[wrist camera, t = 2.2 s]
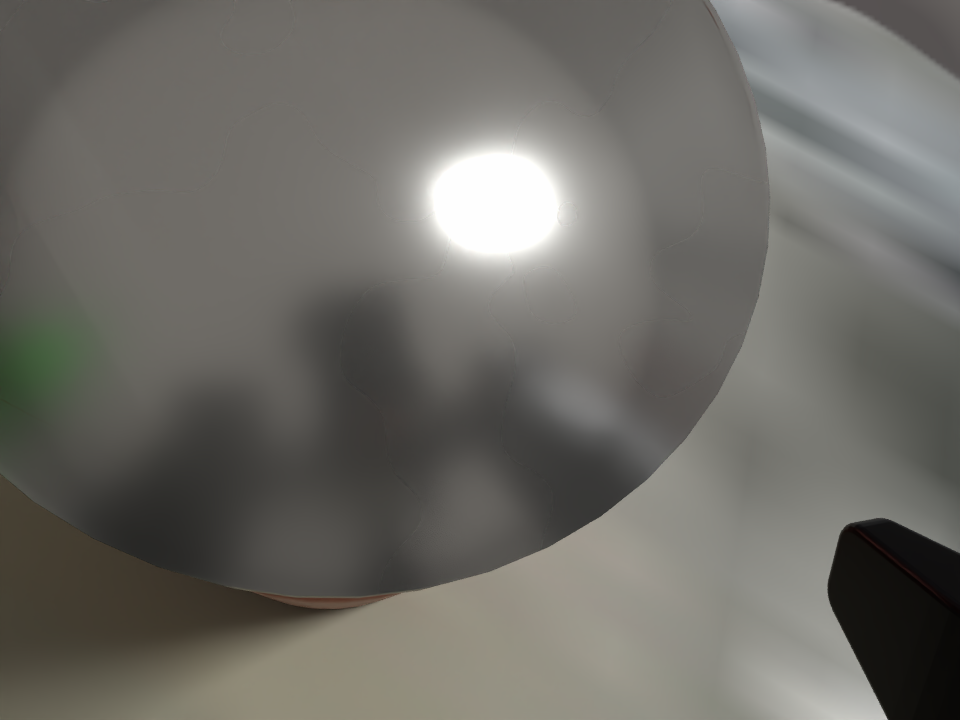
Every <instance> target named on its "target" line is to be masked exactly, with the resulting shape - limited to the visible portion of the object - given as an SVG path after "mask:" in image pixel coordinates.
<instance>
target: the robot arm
mask: <svg viewBox="0 0 960 720" xmlns="http://www.w3.org/2000/svg"><path fill="white" fill-rule="evenodd" d="M828 597H829V601H830V605H831V607H832V610H833V612H834V614H835V616H836V618H837V620H838V622H839V624H840V626H841V628H842V630H843V632H844V634H845V636H846V638H847V640H848V642H849V643H850V645H851V647H852V649H853V651H854V653H855V655H856V657H857V659H858V661H859V663H860V665H861V667H862V669H863V671H864V673H865V675H866V677H867V679H868V681H869V683H870V685H871V687H872V689H873V691H874V693H875V695H876V697H877V699H878V701H879V703H880V705H881V707H882V709H883V711H884V713H885V715H886V717H887V719H888V720H960V553H958V552H956V551H954V550H952V549H950V548H947V547H945V546H943V545H941V544H939V543H937V542H935V541H933V540H931V539H929V538H927V537H925V536H923V535H921V534H919V533H916V532H914V531H912V530H910V529H908V528H906V527H904V526H902V525H900V524H898V523H896V522H894V521H891V520H889V519H885V518H876V519H871V520H865V521H860V522H855V523H850V524H848V525H846V526H845V527H844V529H843V530H842V531H841V533H840V536H839V539H838V543H837V547H836V551H835V555H834V559H833V563H832V567H831V571H830V575H829V579H828Z"/></svg>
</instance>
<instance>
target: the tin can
mask: <svg viewBox="0 0 960 720" xmlns="http://www.w3.org/2000/svg"><path fill="white" fill-rule="evenodd" d="M769 211H770V190H769V179H768V168H767V157H766V147H765V143H764V138H763V134H762V129H761V125H760V121H759V116H758V112H757V107H756V103H755V99H754V96H753V94H752V91H751V88H750V85H749V83H748V80H747V77H746V74H745V72H744V69H743V66H742V63H741V61H740V58H739V55H738V53H737V51H736V49H735V47H734V45H733V43H732V41H731V39H730V37H729V35H728V33H727V31H726V29H725V27H724V25H723V23H722V21H721V19H720V17H719V16H718V14H717V12H716V10H715V8H714V7H713V5H712V4H711V2H710V1H709V0H0V474H1V475H3V476H4V477H5V478H6V479H7V480H9V481H10V482H11V483H12V484H13V485H15V486H16V487H17V488H18V489H19V490H21V491H22V492H23V493H24V494H25V495H26V496H28V497H29V498H30V499H31V500H32V501H34V502H35V503H37V504H38V505H40V506H42V507H43V508H45V509H46V510H48V511H50V512H51V513H53V514H54V515H56V516H58V517H59V518H61V519H63V520H64V521H66V522H67V523H69V524H71V525H72V526H74V527H76V528H77V529H79V530H80V531H82V532H84V533H85V534H87V535H88V536H90V537H92V538H93V539H96V540H98V541H100V542H103V543H105V544H107V545H109V546H112V547H114V548H116V549H118V550H121V551H123V552H125V553H128V554H130V555H132V556H134V557H137V558H139V559H141V560H143V561H146V562H148V563H150V564H153V565H155V566H157V567H160V568H164V569H167V570H170V571H173V572H177V573H180V574H184V575H187V576H191V577H194V578H198V579H201V580H205V581H208V582H212V583H215V584H219V585H222V586H226V587H229V588H233V589H240V590H247V591H251V592H253V593H256V594H259V595H262V596H264V597H267V598H270V599H273V600H276V601H279V602H283V603H286V604H290V605H293V606H299V607H306V608H313V609H342V608H350V607H358V606H362V605H365V604H369V603H373V602H377V601H380V600H383V599H386V598H389V597H392V596H395V595H398V594H401V593H404V592H411V591H419V590H422V589H426V588H430V587H434V586H438V585H441V584H445V583H449V582H453V581H457V580H460V579H464V578H468V577H472V576H476V575H479V574H482V573H486V572H489V571H492V570H494V569H497V568H499V567H502V566H504V565H506V564H509V563H511V562H514V561H516V560H518V559H521V558H523V557H526V556H528V555H530V554H533V553H535V552H538V551H540V550H542V549H545V548H547V547H549V546H551V545H553V544H554V543H556V542H558V541H560V540H561V539H563V538H565V537H566V536H568V535H570V534H571V533H573V532H575V531H577V530H578V529H580V528H582V527H583V526H585V525H587V524H588V523H590V522H592V521H594V520H595V519H597V518H599V517H600V516H602V515H603V514H604V513H606V512H607V511H608V510H609V509H611V508H612V507H613V506H614V505H616V504H617V503H618V502H619V501H621V500H622V499H623V498H624V497H626V496H627V495H628V494H629V493H631V492H632V491H633V490H634V489H636V488H637V487H638V486H639V485H641V484H642V483H643V482H645V481H646V480H647V479H648V478H649V477H650V476H651V475H652V474H653V473H654V472H655V471H656V470H657V468H658V467H659V466H660V465H661V464H662V463H663V462H664V461H665V460H666V459H667V458H668V457H669V456H670V455H671V454H672V453H673V452H674V450H675V449H676V448H677V447H678V446H679V445H680V444H681V443H682V442H683V441H684V440H685V439H686V438H687V436H688V435H689V433H690V432H691V431H692V429H693V428H694V426H695V425H696V423H697V422H698V421H699V419H700V418H701V416H702V415H703V414H704V412H705V411H706V409H707V408H708V406H709V405H710V404H711V402H712V401H713V399H714V398H715V397H716V395H717V394H718V392H719V390H720V388H721V386H722V384H723V382H724V380H725V378H726V376H727V374H728V372H729V370H730V368H731V366H732V364H733V362H734V360H735V358H736V356H737V354H738V352H739V351H740V349H741V347H742V344H743V341H744V338H745V335H746V332H747V329H748V326H749V323H750V320H751V317H752V315H753V312H754V309H755V306H756V303H757V300H758V297H759V291H760V286H761V281H762V275H763V270H764V265H765V259H766V254H767V249H768V232H769Z"/></svg>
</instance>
